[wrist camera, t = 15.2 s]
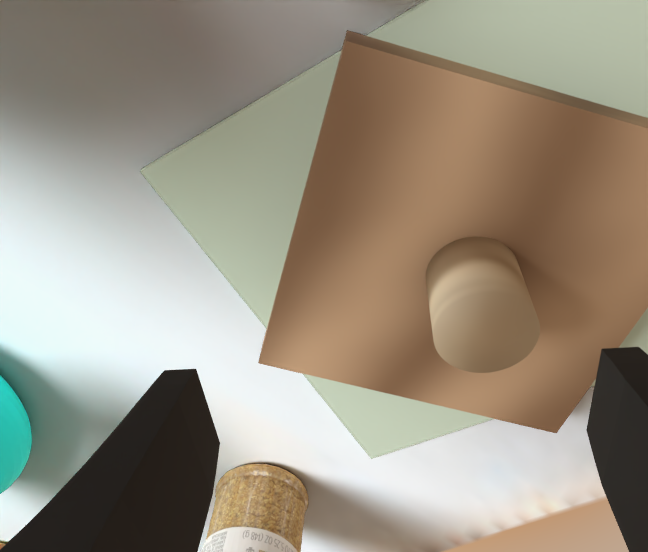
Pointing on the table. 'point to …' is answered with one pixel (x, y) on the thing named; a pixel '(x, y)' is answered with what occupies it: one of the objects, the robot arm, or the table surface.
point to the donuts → (12, 436)
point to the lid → (463, 238)
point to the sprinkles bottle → (257, 511)
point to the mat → (301, 138)
